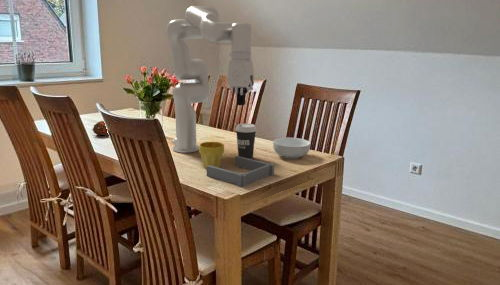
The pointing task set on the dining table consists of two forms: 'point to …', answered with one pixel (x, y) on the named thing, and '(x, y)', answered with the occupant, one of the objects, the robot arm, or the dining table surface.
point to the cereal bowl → (291, 147)
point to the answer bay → (256, 173)
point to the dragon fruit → (100, 128)
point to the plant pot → (211, 153)
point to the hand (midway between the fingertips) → (240, 104)
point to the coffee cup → (245, 140)
